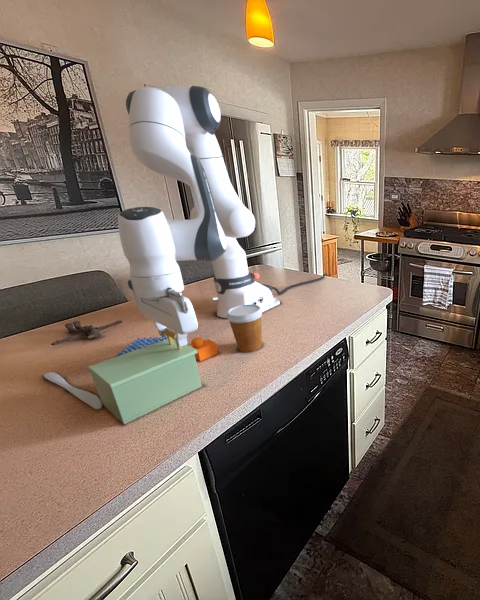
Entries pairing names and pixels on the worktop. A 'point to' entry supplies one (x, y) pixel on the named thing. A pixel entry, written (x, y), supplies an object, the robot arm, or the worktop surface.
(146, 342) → the woven mat
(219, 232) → the robot arm
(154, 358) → the lid
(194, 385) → the chest
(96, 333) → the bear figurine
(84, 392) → the butter knife
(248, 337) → the disposable coffee cup
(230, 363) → the worktop surface
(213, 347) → the rubber duck
